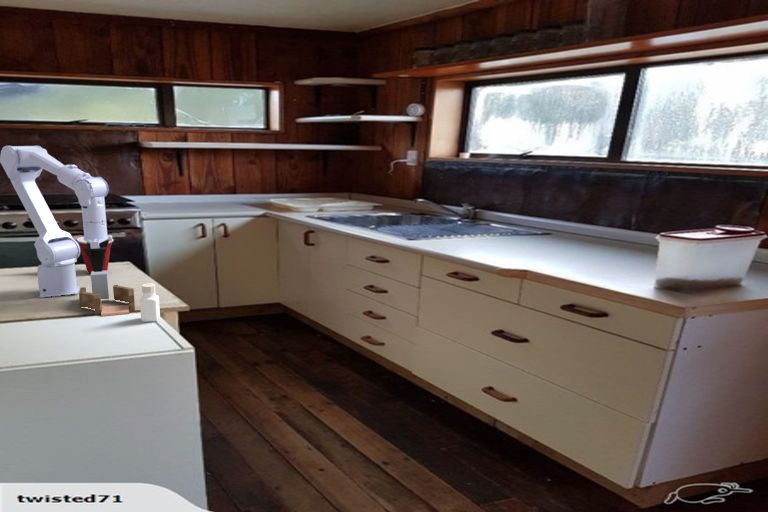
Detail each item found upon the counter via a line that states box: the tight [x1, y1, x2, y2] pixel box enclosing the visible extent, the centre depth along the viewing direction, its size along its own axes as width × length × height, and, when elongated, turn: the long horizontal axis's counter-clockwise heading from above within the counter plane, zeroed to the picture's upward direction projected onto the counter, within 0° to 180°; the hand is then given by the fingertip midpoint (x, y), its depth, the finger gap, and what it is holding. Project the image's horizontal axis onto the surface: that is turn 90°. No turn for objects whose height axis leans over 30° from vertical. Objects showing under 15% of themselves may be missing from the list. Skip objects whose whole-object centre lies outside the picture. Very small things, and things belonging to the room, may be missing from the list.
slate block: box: [90, 270, 110, 300], centre depth 148 cm, size 4×4×8 cm
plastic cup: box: [76, 236, 115, 275], centre depth 173 cm, size 11×11×12 cm
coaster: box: [100, 304, 130, 317], centre depth 139 cm, size 7×6×1 cm
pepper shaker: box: [139, 282, 161, 323], centre depth 133 cm, size 4×4×10 cm
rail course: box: [78, 284, 136, 315], centre depth 142 cm, size 13×12×4 cm
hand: (98, 268), depth 146 cm, fingers open, 7 cm apart
